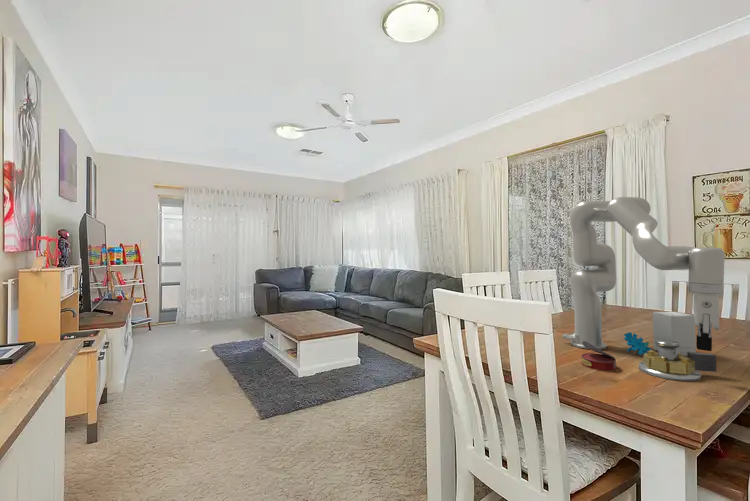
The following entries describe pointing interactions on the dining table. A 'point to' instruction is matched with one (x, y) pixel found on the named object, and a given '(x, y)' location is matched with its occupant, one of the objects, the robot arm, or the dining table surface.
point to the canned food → (598, 359)
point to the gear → (636, 343)
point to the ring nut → (681, 362)
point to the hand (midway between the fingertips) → (703, 349)
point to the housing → (671, 353)
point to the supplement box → (675, 330)
